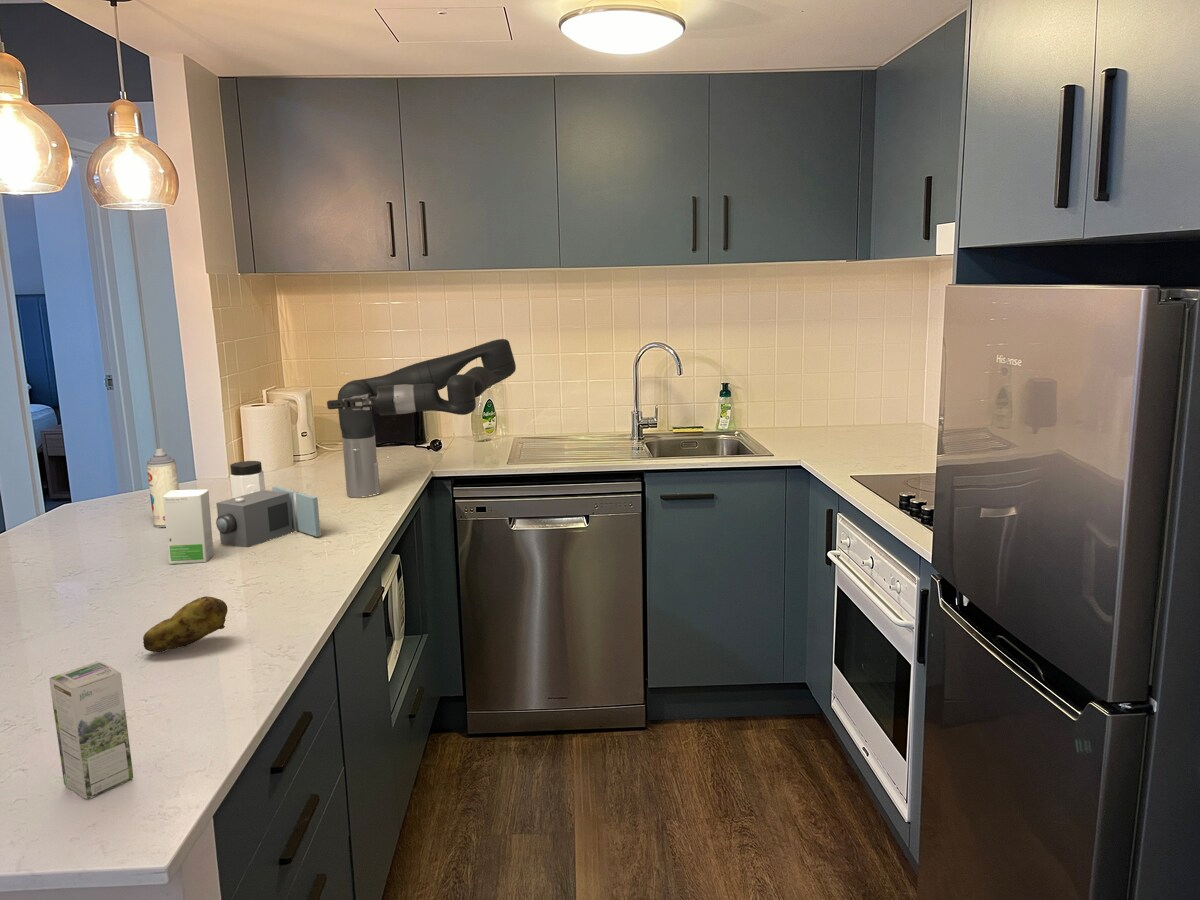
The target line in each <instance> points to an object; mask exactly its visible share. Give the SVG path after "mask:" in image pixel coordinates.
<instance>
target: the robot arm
mask: <svg viewBox="0 0 1200 900" xmlns="http://www.w3.org/2000/svg"><path fill="white" fill-rule="evenodd" d="M479 358H481V364H482V366H479V365H477V366H475V367H471V368H470V369H469V370H467V371H466V372H465V373H462V374H459V373H460V372H461V371H462V370H463V369H464V368H465V367H466V366H467V365H468V364H470V363H471V362H473V361H474V360H477V359H479ZM516 369H517V367H516V360H515V358H514V353H513V350H512V348H511V345H510V341H509V340H508V339H506V338H500V339H494V340H490V341H488V342H487V341H486V342H485V343H481V344H478V345H475V346H473V347H470V348H467V349H464V350H461V351H458V352H455V353H451V354H447V355H443V356H439V357H435V358H431V359H427V360H424V361H419V362H416V363H412V364H409V365H407V366H404V367H401V368H399V369H397V370H394V371H392V372H389V373H386V374H384V375H380V376H379V375H378V376H373V377H368V378H363V379H355V380H351V381H348V382H347V383H345V384H344V385H343V386H341V387H340V389H339V390H338V394H337V399H332V400H331V399H330V400H327V401H326V406H327V409H328V410H337V411H338V420H339V428H340V431H341V439H342V449H343V464H344V465H343V466H344V477H345V486H346V487H345V491H346V496H347V497H349V496H350V497H349V498H363V497H362V496H369V495H373V494H377V493H380V494H381V490H380V487H381V486H380V478H379V477H380V475H379V463H378V458H377V445H376V444H377V443H376V431H375V429H376V428H375V424H374V421H373V410H372V409H373V407H377V410H378V414H379V416H392V415H394V416H395V415H402V414H403V415H405V414H412V413H416V412H428V411H432V412H433V411H434V412H442V413H449V414H454V415H458V416H459V415H460V416H464V415H465V416H466V415H469V414H471V413H473V412H474V410H476V406H477V404H476V403H477V401H476V398H478V397H480V396H481V395H482V394H483V393H484V392H485V391H486V390H487V389H488V388H490V387H492V386H495V385H497V384H499V383H500V382H503V381H504V380H506V379H508V378H510V377H511V376H512V375H513V374H514V373H516ZM444 388H446V390H447V391H446V392H447V399H445V398H443V397H441V396H440V393H439V391H441V390H443V389H444ZM369 497H370V496H369Z"/></svg>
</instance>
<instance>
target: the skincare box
mask: <svg viewBox="0 0 1200 900" xmlns="http://www.w3.org/2000/svg"><path fill="white" fill-rule="evenodd" d="M209 493H210V491H209V489H179V490H172V491H170V492H169V493H167V494H166V495H164V496H163V503H164V514H165V525H166V528H165V535H166V547H167V548H166V549H167V558H168V559H167V560H168V564H169V565H175V564H194V563H207V562H208V561H209V560H210V559H209V558H212V557H213V555H214V544H213V543H214V542H213V531H212V530H213V529H212V517H211V507H210V506H211V505H210V494H209Z"/></svg>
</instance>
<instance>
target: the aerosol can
mask: <svg viewBox="0 0 1200 900" xmlns="http://www.w3.org/2000/svg"><path fill="white" fill-rule="evenodd" d="M177 469H178V468H177V462H176V460H175V459H174V458H172V456H170V455H168V453H166V452H165V451H164V448H157V449H155V453H154V454H153V456H151V458H150V460H148V461H147V462H146V471H147V480H148V489H149V495H150V496H149V497H150V502H151V503H150V504H151V510H152V520H153V527H154V526H155V527H166V525H165V514H164V503H163V496H164V495H166V494H167V493H169V492H170V491H172V490H180V487H179V485H180V484H179V480H178V470H177ZM155 527H154V528H155Z"/></svg>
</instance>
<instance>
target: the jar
mask: <svg viewBox="0 0 1200 900" xmlns="http://www.w3.org/2000/svg"><path fill="white" fill-rule="evenodd" d="M230 473H231V474H230V475H229V479H230V480H229V481H230V489H231V499H232V498H236V497H240V496H243V495H247V494H251V493H254V492H258V491H262V490H266V484H265V473H264V470H263V466H262V462H261V461H259V460H245V461H238V462H234V463H231V464H230Z"/></svg>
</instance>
